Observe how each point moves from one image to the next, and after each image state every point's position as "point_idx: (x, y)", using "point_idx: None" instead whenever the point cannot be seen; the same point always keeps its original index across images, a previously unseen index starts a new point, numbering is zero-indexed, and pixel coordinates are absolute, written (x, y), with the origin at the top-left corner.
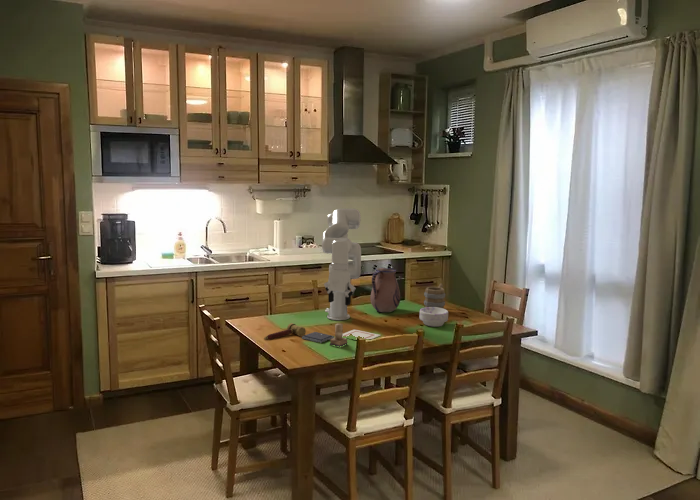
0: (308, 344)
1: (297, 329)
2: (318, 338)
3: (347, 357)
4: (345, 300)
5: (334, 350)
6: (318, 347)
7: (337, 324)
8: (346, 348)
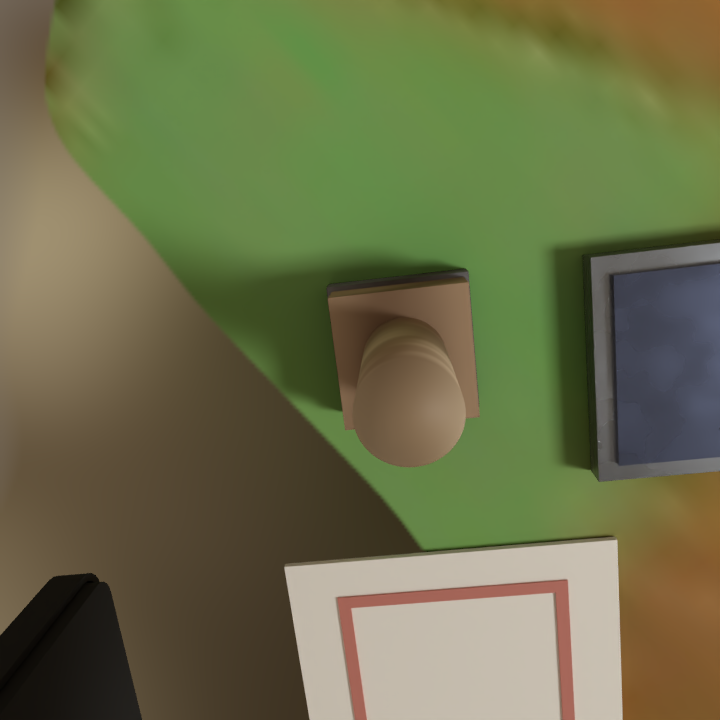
0: (670, 121)
1: None
2: (666, 285)
3: (55, 107)
4: (17, 678)
5: (310, 179)
6: (508, 126)
7: (428, 401)
8: (272, 318)
